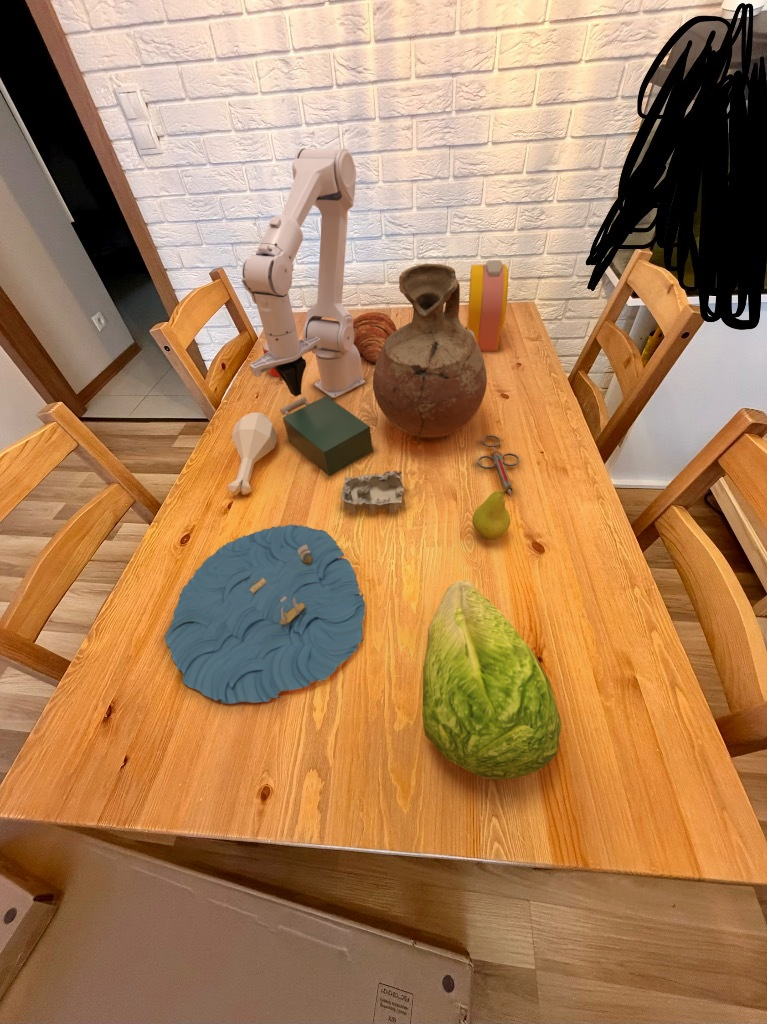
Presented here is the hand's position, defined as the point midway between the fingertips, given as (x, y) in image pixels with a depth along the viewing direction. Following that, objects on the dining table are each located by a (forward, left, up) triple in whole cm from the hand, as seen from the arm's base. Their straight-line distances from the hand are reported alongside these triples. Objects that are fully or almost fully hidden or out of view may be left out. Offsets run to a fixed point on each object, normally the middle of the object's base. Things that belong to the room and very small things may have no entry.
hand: (295, 393), depth 93 cm
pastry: (-32, -16, -8) cm, 37 cm away
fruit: (-6, +47, -8) cm, 48 cm away
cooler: (0, +10, -8) cm, 13 cm away
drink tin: (-8, -23, -8) cm, 26 cm away
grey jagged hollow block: (+3, +28, -8) cm, 29 cm away
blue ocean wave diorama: (+28, +35, -8) cm, 45 cm away
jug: (-19, +19, -8) cm, 28 cm away
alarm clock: (-53, +3, -8) cm, 54 cm away
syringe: (-19, +38, -8) cm, 43 cm away
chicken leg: (+14, +4, -8) cm, 17 cm away
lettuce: (+13, +62, -8) cm, 64 cm away
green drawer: (0, +6, -7) cm, 9 cm away
